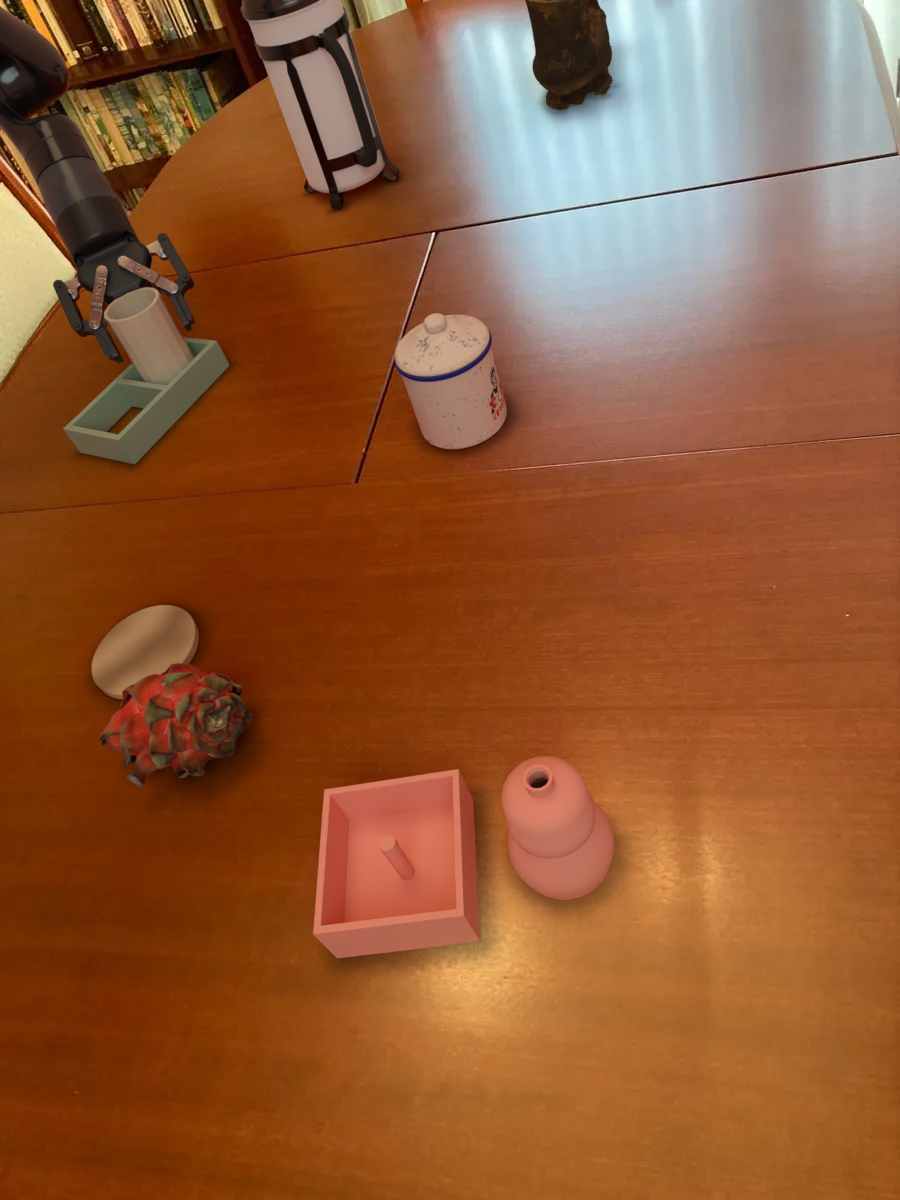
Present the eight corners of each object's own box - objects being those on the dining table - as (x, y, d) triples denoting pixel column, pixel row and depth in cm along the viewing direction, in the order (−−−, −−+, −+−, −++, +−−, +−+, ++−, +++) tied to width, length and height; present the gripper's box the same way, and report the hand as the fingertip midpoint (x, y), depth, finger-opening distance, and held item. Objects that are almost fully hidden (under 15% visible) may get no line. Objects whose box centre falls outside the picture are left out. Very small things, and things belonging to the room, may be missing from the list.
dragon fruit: (286, 754, 68) (156, 785, 71) (262, 646, 69) (136, 682, 72) (225, 770, 59) (82, 804, 63) (199, 647, 60) (60, 688, 64)
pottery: (337, 958, 55) (275, 896, 47) (345, 818, 61) (291, 745, 54) (628, 924, 52) (610, 852, 44) (605, 780, 58) (586, 697, 51)
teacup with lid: (520, 433, 83) (494, 327, 74) (428, 464, 83) (392, 362, 75) (491, 366, 91) (465, 263, 82) (408, 395, 91) (373, 295, 83)
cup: (143, 399, 104) (92, 319, 96) (176, 366, 107) (130, 285, 99) (181, 406, 101) (132, 323, 93) (214, 371, 104) (169, 288, 96)
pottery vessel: (547, 66, 139) (524, -85, 125) (616, 51, 136) (601, -106, 122) (534, 137, 124) (506, -27, 109) (612, 121, 121) (594, -49, 106)
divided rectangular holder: (80, 452, 100) (62, 428, 98) (175, 358, 109) (161, 334, 106) (135, 464, 96) (118, 440, 93) (230, 365, 104) (216, 340, 102)
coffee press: (285, 219, 127) (188, -20, 105) (328, 165, 136) (247, -67, 114) (392, 210, 120) (314, -48, 98) (430, 153, 129) (366, -95, 107)
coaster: (74, 682, 76) (69, 677, 76) (144, 600, 81) (140, 594, 80) (150, 713, 72) (146, 708, 71) (220, 624, 76) (216, 618, 76)
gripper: (14, 225, 94) (85, 363, 95) (137, 171, 95) (206, 307, 96) (40, 253, 101) (105, 380, 102) (154, 202, 103) (217, 328, 103)
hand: (154, 344), depth 99 cm, fingers open, 8 cm apart
